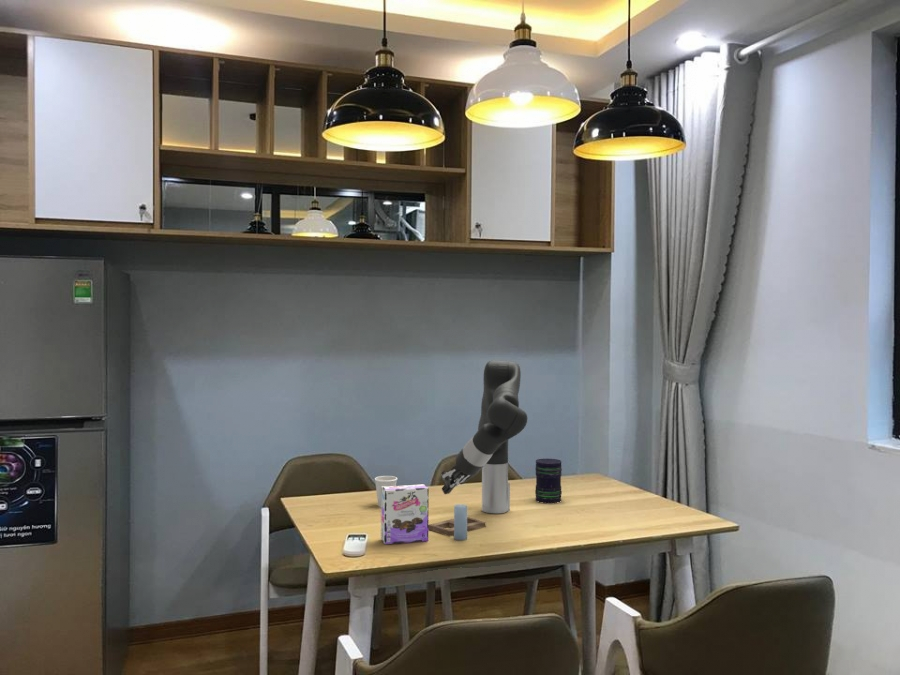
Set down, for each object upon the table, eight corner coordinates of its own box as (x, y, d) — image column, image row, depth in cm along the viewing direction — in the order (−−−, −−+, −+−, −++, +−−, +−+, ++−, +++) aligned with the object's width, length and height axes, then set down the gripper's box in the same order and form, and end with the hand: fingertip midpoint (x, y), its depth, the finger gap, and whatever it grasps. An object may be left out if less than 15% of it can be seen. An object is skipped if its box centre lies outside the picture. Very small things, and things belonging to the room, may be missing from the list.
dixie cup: (369, 505, 259) (369, 478, 259) (387, 501, 265) (387, 474, 265) (384, 509, 253) (384, 481, 253) (402, 505, 259) (402, 478, 259)
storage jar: (563, 503, 262) (563, 463, 262) (536, 503, 262) (536, 463, 262) (559, 497, 272) (559, 458, 272) (534, 497, 272) (534, 458, 272)
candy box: (384, 545, 212) (384, 490, 211) (380, 539, 217) (380, 485, 217) (429, 541, 215) (429, 487, 215) (424, 535, 221) (424, 483, 221)
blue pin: (460, 535, 221) (460, 503, 221) (469, 538, 218) (469, 506, 218) (451, 538, 219) (451, 505, 218) (460, 541, 216) (460, 508, 215)
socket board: (464, 520, 239) (464, 516, 239) (485, 526, 232) (485, 521, 232) (428, 529, 228) (428, 524, 228) (449, 536, 221) (449, 531, 221)
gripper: (485, 441, 200) (455, 477, 209) (451, 446, 191) (421, 484, 200) (499, 462, 196) (467, 498, 206) (464, 469, 187) (433, 506, 197)
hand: (444, 491), depth 203 cm, fingers closed
